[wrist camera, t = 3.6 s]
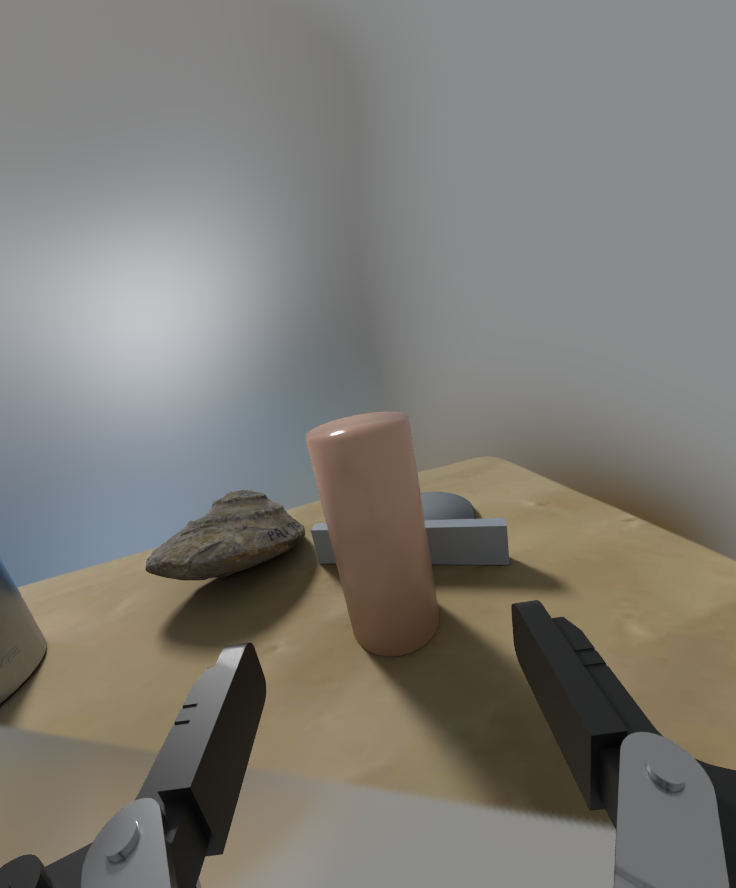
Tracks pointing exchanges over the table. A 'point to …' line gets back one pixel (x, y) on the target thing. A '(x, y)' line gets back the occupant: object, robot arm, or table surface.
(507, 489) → the table surface
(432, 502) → the slate coaster
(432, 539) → the gray rectangular bar
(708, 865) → the robot arm
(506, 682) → the table surface
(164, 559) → the fossilized seashell
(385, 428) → the peach rounded cylinder
